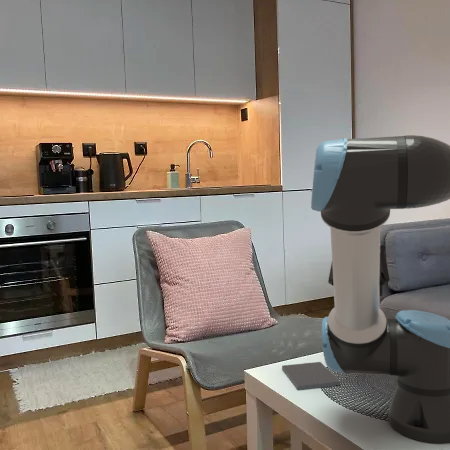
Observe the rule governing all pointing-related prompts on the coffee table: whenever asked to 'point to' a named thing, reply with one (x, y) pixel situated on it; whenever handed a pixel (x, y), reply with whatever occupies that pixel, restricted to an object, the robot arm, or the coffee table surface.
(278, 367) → the coffee table surface
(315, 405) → the coffee table surface
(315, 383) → the plate
